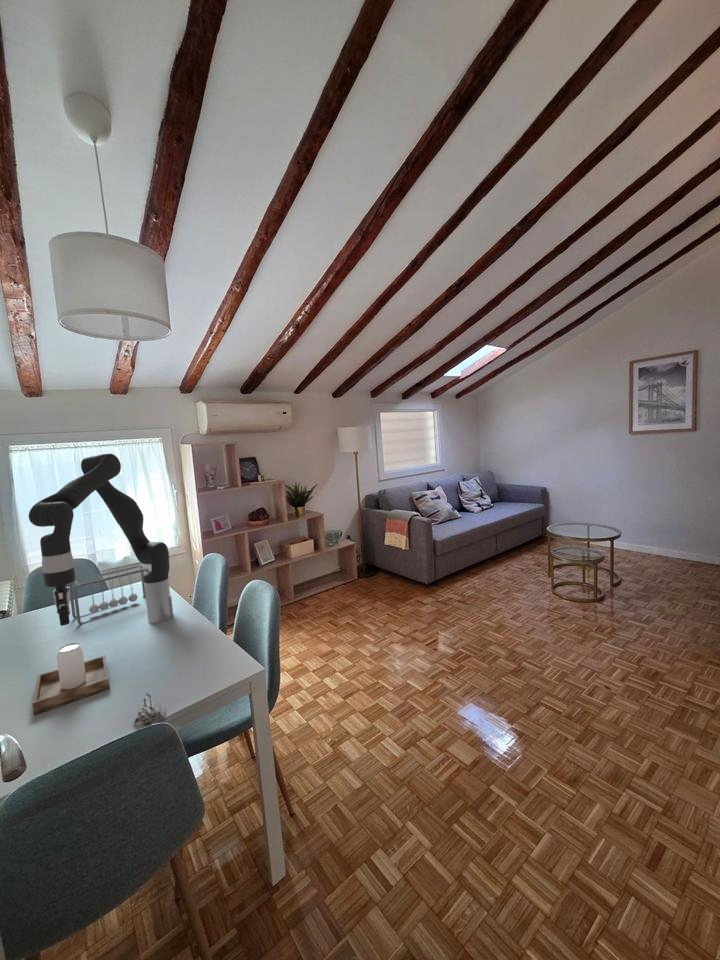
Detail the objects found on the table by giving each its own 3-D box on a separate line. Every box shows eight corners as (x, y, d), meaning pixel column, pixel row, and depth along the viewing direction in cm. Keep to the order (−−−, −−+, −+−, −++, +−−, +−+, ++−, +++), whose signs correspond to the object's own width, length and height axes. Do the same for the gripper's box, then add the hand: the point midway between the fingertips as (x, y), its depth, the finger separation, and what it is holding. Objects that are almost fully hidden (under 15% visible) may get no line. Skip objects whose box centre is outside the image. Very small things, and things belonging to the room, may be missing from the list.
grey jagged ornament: (121, 743, 99) (117, 713, 98) (129, 721, 107) (126, 693, 106) (161, 733, 101) (158, 704, 101) (166, 712, 110) (163, 685, 109)
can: (72, 691, 120) (67, 653, 119) (55, 689, 121) (50, 652, 120) (91, 679, 126) (87, 642, 125) (74, 677, 127) (70, 641, 126)
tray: (106, 665, 136) (105, 655, 136) (109, 689, 121) (108, 678, 121) (39, 685, 126) (37, 675, 126) (33, 715, 111) (32, 703, 111)
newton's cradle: (145, 599, 198) (142, 564, 196) (153, 604, 190) (149, 567, 189) (72, 620, 176) (67, 581, 175) (78, 627, 169) (73, 586, 168)
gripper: (73, 570, 117) (80, 624, 118) (74, 560, 128) (80, 609, 130) (41, 576, 112) (48, 632, 114) (44, 565, 124) (51, 616, 125)
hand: (65, 620), depth 122 cm, fingers open, 8 cm apart
